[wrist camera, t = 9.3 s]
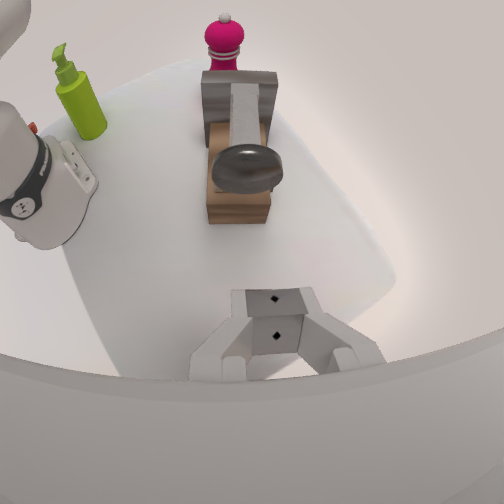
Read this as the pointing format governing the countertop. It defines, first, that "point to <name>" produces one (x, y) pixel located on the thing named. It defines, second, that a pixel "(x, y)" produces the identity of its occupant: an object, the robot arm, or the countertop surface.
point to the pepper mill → (224, 42)
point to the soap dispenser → (78, 97)
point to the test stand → (218, 138)
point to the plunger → (245, 149)
